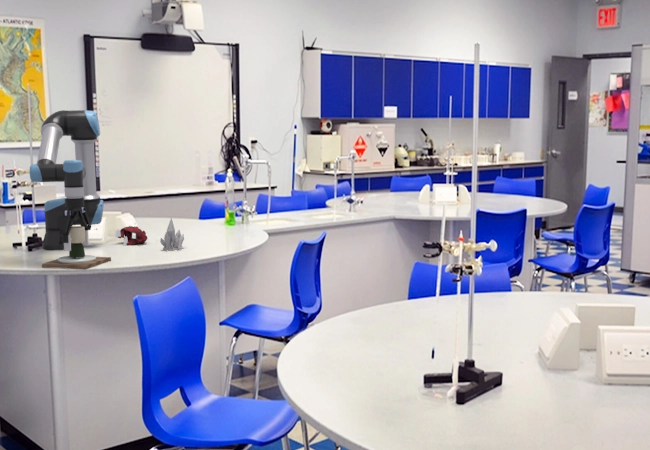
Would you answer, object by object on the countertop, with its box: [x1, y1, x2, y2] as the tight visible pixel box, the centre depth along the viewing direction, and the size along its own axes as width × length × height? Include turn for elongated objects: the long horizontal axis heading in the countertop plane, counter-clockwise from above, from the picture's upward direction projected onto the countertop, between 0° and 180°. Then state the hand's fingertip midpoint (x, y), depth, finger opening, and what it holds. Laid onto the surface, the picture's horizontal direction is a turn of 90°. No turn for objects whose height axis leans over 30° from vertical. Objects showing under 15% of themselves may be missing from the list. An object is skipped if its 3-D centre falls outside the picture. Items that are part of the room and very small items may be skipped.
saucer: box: [57, 254, 97, 264], centre depth 313 cm, size 15×15×1 cm
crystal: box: [159, 217, 185, 252], centre depth 350 cm, size 10×13×15 cm
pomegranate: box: [114, 225, 148, 246], centre depth 366 cm, size 15×13×9 cm
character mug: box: [68, 225, 86, 258], centre depth 312 cm, size 11×7×13 cm, turn 163°
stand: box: [41, 256, 112, 270], centre depth 313 cm, size 20×20×2 cm
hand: (76, 248), depth 312 cm, fingers open, 13 cm apart
